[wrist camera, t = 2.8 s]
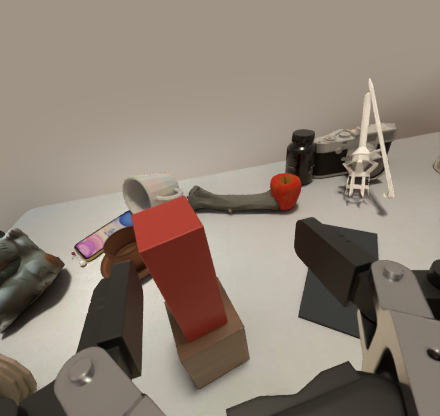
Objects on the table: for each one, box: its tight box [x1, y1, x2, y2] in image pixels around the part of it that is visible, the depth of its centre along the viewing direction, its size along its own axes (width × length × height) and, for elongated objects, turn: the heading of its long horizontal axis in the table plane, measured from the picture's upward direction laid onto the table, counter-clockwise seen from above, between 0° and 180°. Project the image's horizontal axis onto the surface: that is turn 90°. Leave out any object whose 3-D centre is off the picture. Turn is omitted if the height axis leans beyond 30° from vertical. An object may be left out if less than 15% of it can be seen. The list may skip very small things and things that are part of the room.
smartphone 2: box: [74, 210, 133, 261], centre depth 52 cm, size 8×15×1 cm, turn 140°
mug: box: [123, 173, 183, 214], centre depth 53 cm, size 10×15×10 cm
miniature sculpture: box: [343, 78, 395, 198], centre depth 48 cm, size 6×9×25 cm
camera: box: [313, 123, 398, 180], centre depth 54 cm, size 20×11×10 cm, turn 96°
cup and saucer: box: [101, 225, 150, 279], centre depth 42 cm, size 12×12×6 cm
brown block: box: [164, 277, 250, 389], centre depth 28 cm, size 7×7×9 cm
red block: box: [131, 196, 228, 342], centre depth 21 cm, size 4×4×14 cm
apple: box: [270, 173, 301, 210], centre depth 49 cm, size 6×6×8 cm
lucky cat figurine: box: [0, 228, 65, 333], centre depth 39 cm, size 15×12×14 cm
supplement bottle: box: [285, 129, 317, 184], centre depth 55 cm, size 7×7×12 cm
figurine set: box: [69, 250, 86, 266], centre depth 47 cm, size 1×8×1 cm, turn 52°
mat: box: [298, 224, 378, 338], centre depth 37 cm, size 10×20×1 cm, turn 155°
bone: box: [187, 186, 280, 213], centre depth 52 cm, size 22×6×6 cm, turn 78°
